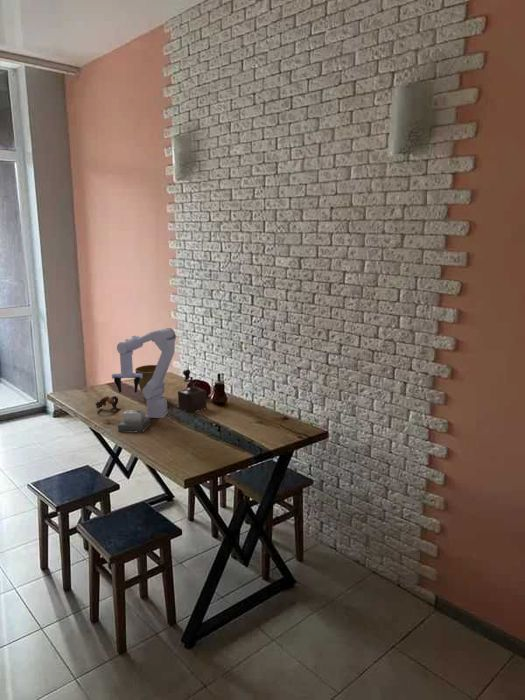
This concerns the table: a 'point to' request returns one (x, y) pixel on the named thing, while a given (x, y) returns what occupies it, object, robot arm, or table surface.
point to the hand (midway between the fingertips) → (128, 392)
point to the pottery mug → (109, 400)
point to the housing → (133, 416)
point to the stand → (134, 426)
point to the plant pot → (145, 374)
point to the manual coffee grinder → (191, 396)
